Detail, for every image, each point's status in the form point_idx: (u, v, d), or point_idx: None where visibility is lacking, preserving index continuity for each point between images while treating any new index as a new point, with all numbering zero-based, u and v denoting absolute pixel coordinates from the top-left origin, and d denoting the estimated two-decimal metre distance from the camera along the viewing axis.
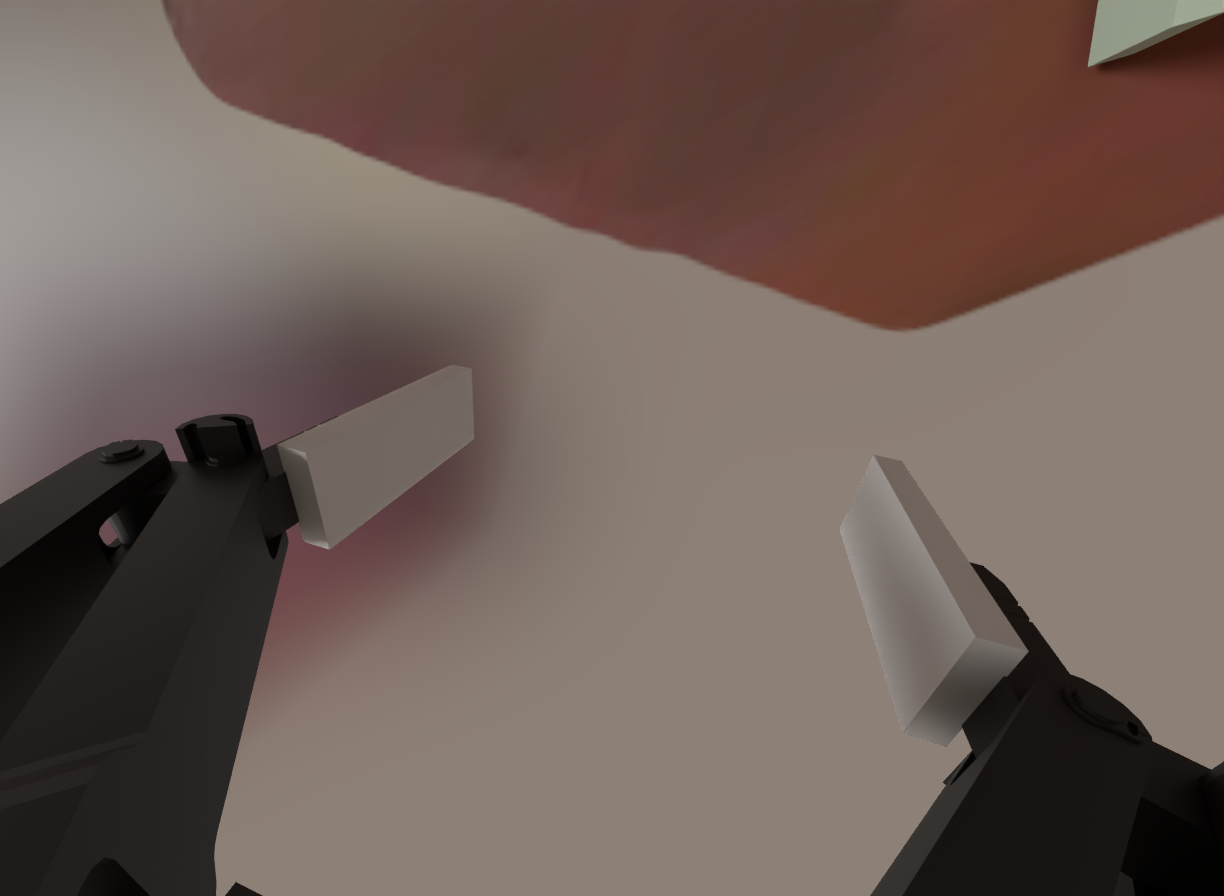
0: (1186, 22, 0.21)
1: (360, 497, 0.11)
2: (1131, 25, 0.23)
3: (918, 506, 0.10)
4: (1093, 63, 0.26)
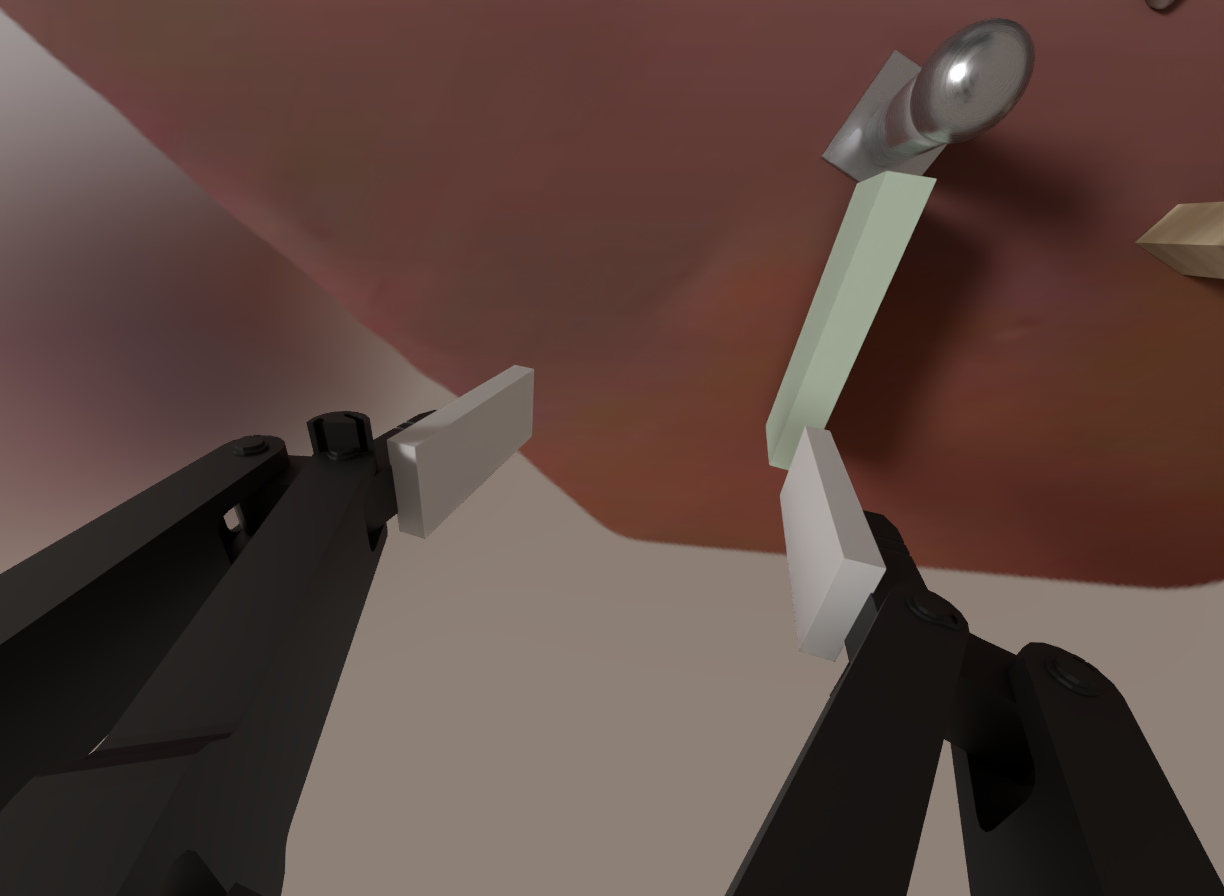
0: (778, 466, 0.26)
1: (449, 490, 0.12)
2: (772, 431, 0.28)
3: (831, 465, 0.12)
4: (766, 427, 0.31)
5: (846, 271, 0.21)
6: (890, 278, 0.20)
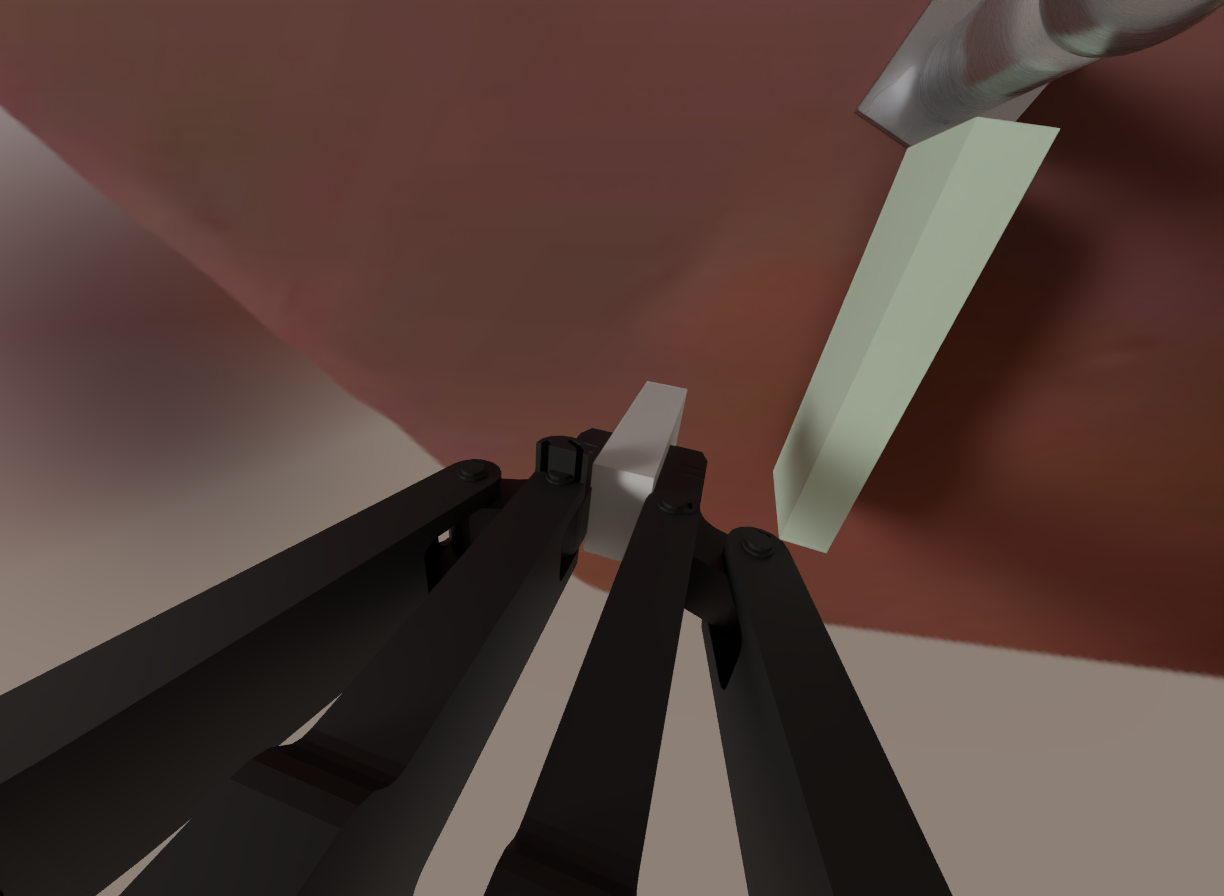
0: (791, 541, 0.19)
1: None
2: (783, 486, 0.21)
3: (667, 412, 0.14)
4: (773, 474, 0.24)
5: (900, 277, 0.14)
6: (969, 288, 0.13)
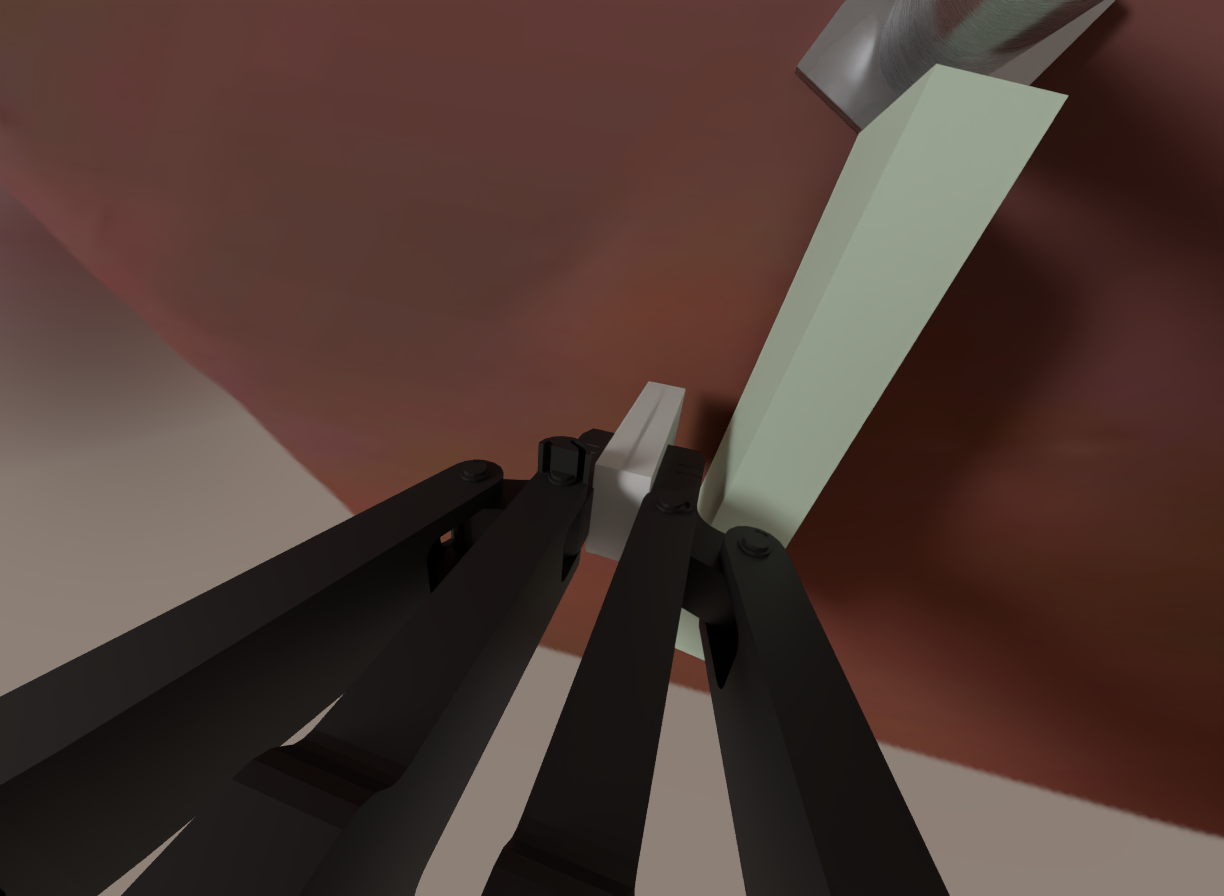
0: None
1: None
2: None
3: (665, 412, 0.14)
4: None
5: (812, 315, 0.09)
6: (910, 342, 0.09)
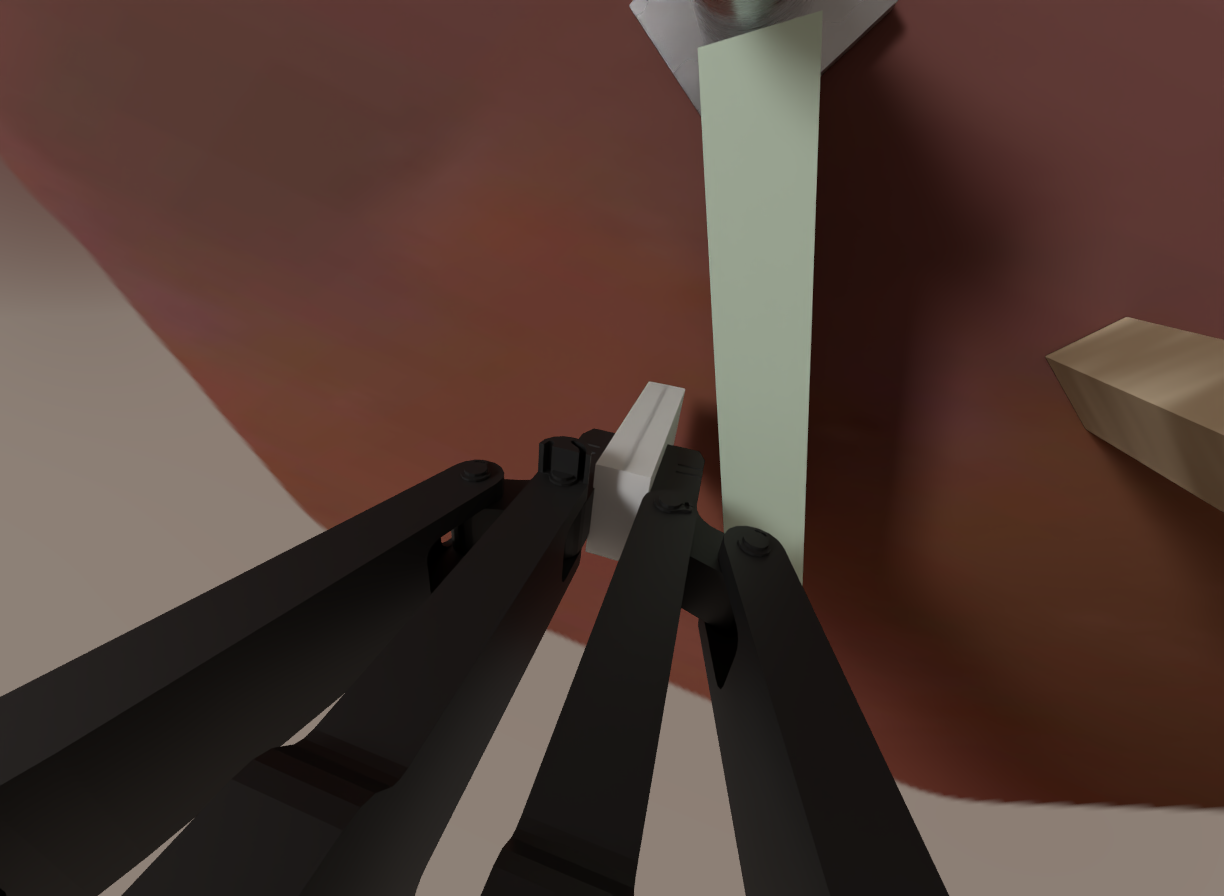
0: None
1: None
2: None
3: (664, 412, 0.14)
4: None
5: None
6: (809, 275, 0.09)
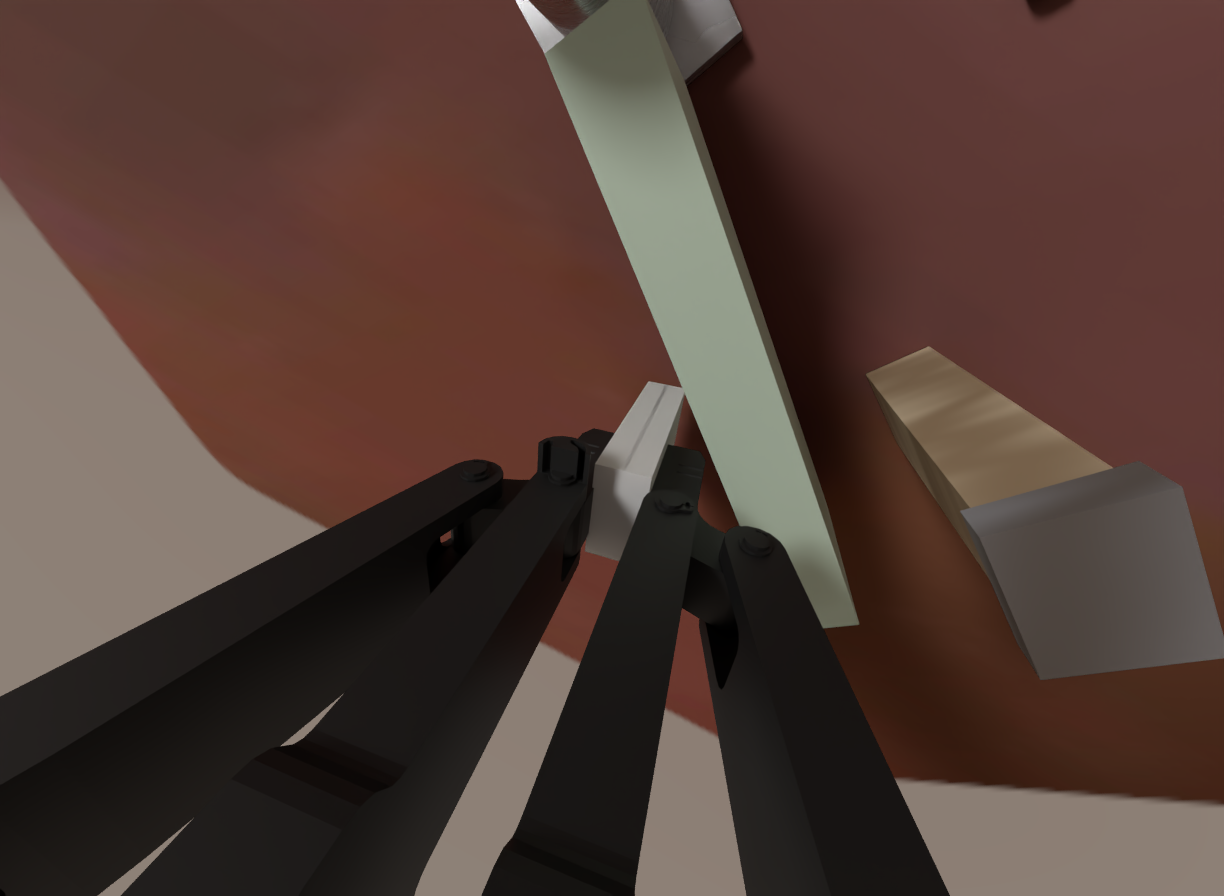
0: None
1: None
2: None
3: (665, 412, 0.14)
4: None
5: (633, 264, 0.10)
6: (715, 217, 0.09)
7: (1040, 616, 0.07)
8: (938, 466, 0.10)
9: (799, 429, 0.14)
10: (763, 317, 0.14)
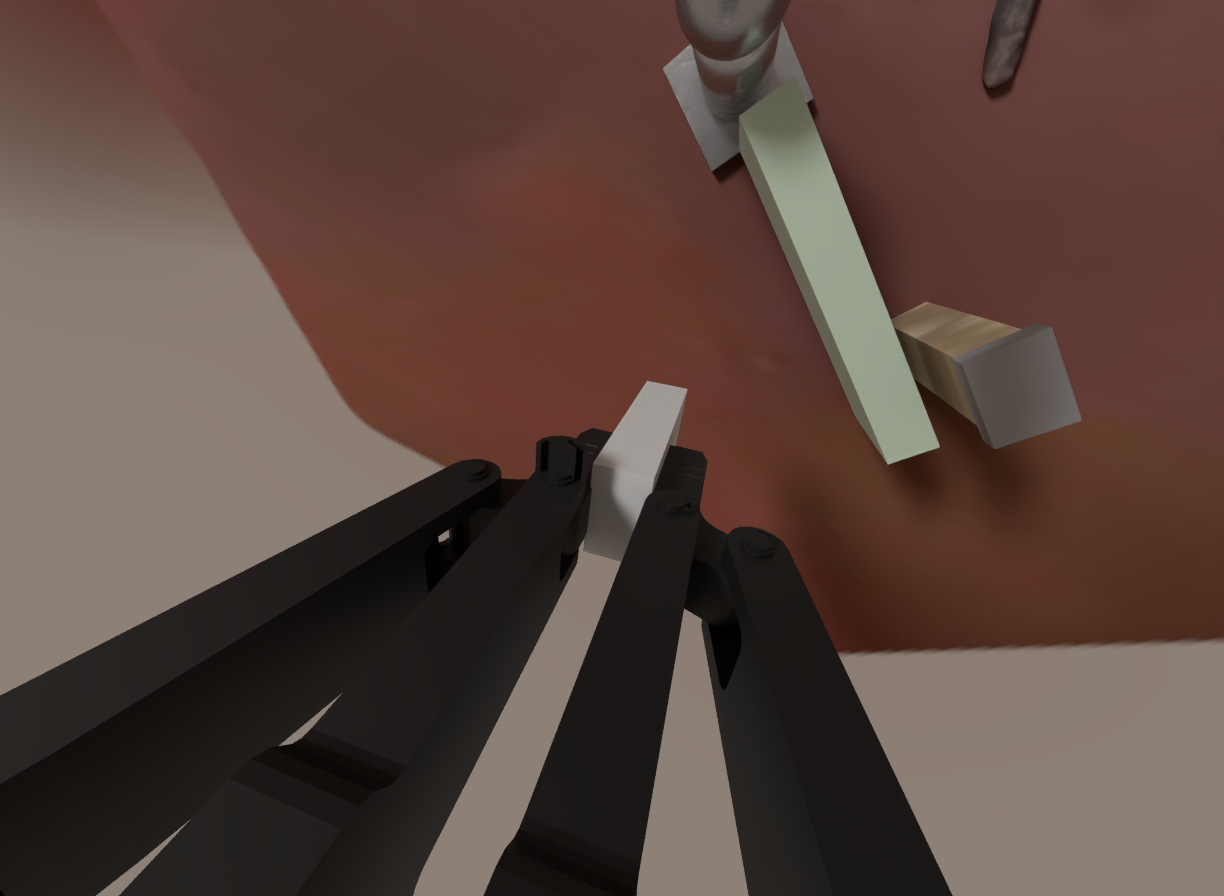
0: (900, 459, 0.19)
1: None
2: (863, 422, 0.21)
3: (667, 412, 0.14)
4: (857, 419, 0.24)
5: (786, 226, 0.17)
6: (838, 192, 0.16)
7: (992, 408, 0.15)
8: (938, 349, 0.17)
9: None
10: None
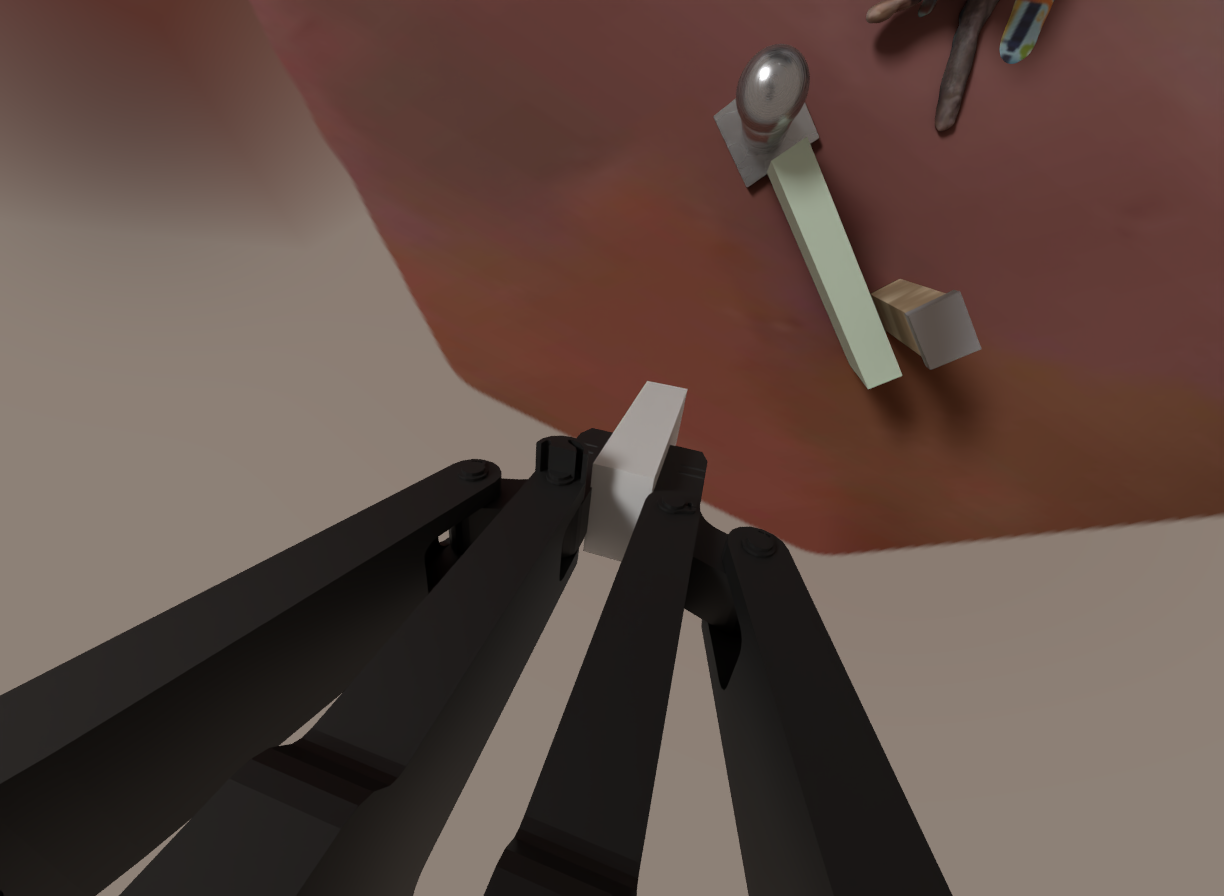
0: (876, 385, 0.28)
1: None
2: (853, 364, 0.31)
3: (667, 412, 0.14)
4: (850, 365, 0.33)
5: (800, 230, 0.26)
6: (834, 208, 0.25)
7: (928, 343, 0.24)
8: (899, 309, 0.26)
9: None
10: None
